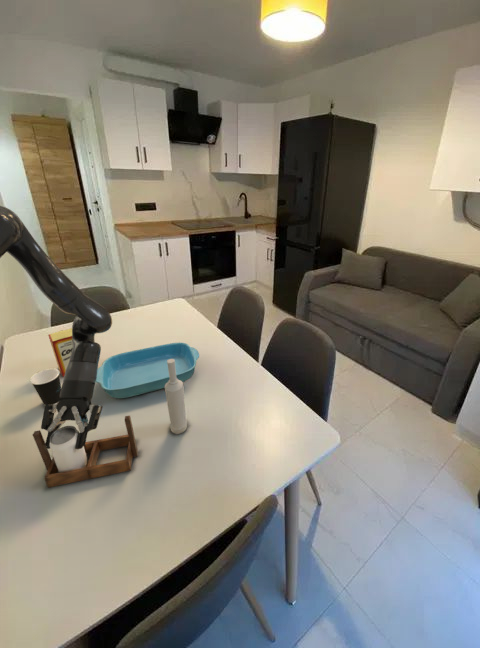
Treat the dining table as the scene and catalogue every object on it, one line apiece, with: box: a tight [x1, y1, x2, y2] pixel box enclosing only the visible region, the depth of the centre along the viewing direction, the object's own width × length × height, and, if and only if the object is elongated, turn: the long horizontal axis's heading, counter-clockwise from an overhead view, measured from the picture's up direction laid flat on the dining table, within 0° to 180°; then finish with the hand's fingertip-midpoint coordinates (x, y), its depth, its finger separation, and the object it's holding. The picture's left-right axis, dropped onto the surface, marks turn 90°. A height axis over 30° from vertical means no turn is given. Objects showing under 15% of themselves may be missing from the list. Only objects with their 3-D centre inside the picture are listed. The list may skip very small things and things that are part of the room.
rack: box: [32, 415, 139, 488], centre depth 75 cm, size 22×9×14 cm, turn 105°
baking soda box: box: [47, 327, 73, 378], centre depth 112 cm, size 10×6×16 cm
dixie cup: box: [29, 367, 62, 406], centre depth 96 cm, size 8×8×11 cm
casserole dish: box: [95, 342, 200, 399], centre depth 110 cm, size 37×22×7 cm, turn 115°
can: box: [49, 425, 89, 473], centre depth 74 cm, size 6×6×12 cm
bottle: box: [164, 359, 188, 435], centre depth 85 cm, size 5×5×25 cm
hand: (64, 448), depth 73 cm, fingers closed on can, 6 cm apart
